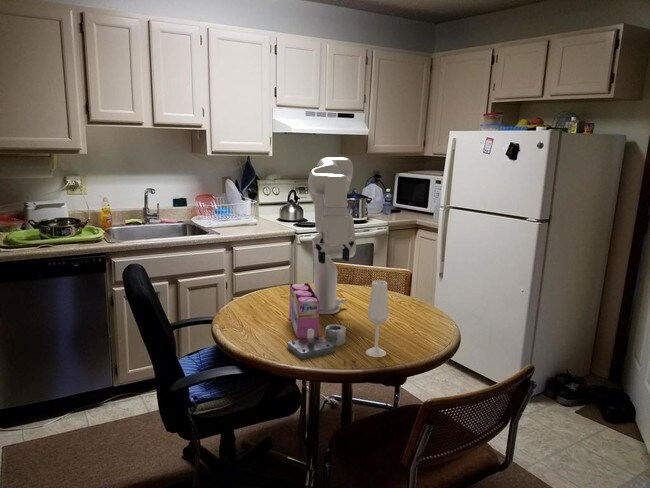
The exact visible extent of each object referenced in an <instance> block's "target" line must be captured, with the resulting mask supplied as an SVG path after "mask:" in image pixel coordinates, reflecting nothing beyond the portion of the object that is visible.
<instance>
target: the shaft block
mask: <svg viewBox="0 0 650 488" xmlns="http://www.w3.org/2000/svg"><path fill="white" fill-rule="evenodd" d="M286 346H287V349H288V350H289V351H291V352H292V353H293V354H295V356H297V357H298V358H300V359H301V360H306V359H310V358H313V357H318V356H322V355H327V354H331V353H334V352H335V345H331V344H330V343H329V342H327V341H326V340H325V338H322V337H321V336H320V335H318V336H315V337H314V329H308V334H307V338H300V339H297V340H293V341H287V345H286Z"/></svg>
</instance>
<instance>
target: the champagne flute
mask: <svg viewBox="0 0 650 488" xmlns="http://www.w3.org/2000/svg"><path fill="white" fill-rule="evenodd" d="M388 292H389V291H388V282H387V281H385V280H372V283H371V291H370V297H369V301H368V309H367V317H368V319H369V320H370V322H372V324H373V325H375V327H374V328H375V330H374V333H375V335H374V346H373V347H371V348H368V349H366V351H365V353H366V355H367V356H368V357H369V356H370V357H374V358H382V357H385V356H386V355H387V352H386V351H385V350H383V349H382V348H380V347H379V339H380V338H379V337H380V336H379V333H380V325H382V324H384V323H385V322H386V321H387V320H388V319H389V298H388V297H389V295H388V294H389V293H388Z"/></svg>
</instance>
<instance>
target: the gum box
mask: <svg viewBox="0 0 650 488" xmlns="http://www.w3.org/2000/svg"><path fill="white" fill-rule="evenodd" d="M313 291H314V289H313V288H312V287H311V285H310V283H309V282H305V283H304V284H300V283H299V284H294V283H289V310H288V311H289V316H288V317H289V319H290V322H291V325H292V327H293V330H294V334H295V335H296V338H297V339H305V338H307V334H308V329H314V337H315V336H320V335H319V333H320V314H319V308H320V302H319V299H318V298H317V296H316V295H315V293H314V292H313Z"/></svg>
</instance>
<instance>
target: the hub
mask: <svg viewBox="0 0 650 488" xmlns="http://www.w3.org/2000/svg"><path fill="white" fill-rule="evenodd" d="M324 330H325V332H324V340H326V341H327V342H329V343H330V344H331V345H333V346H334V347H338V346H342V345H345V342H346V334H347V332H346V330H347V329H346V326H344V325H341V324H336V323H333V324H328V325H326V327H325V329H324Z"/></svg>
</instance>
